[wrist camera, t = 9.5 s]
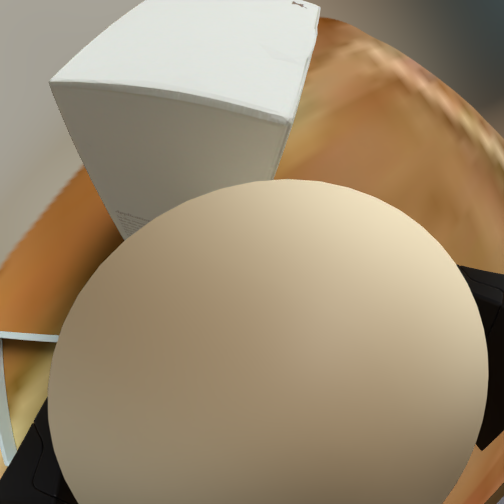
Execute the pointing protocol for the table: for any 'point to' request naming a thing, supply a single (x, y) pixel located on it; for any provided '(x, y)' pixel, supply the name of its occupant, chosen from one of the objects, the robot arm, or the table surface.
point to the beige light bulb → (270, 357)
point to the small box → (185, 100)
